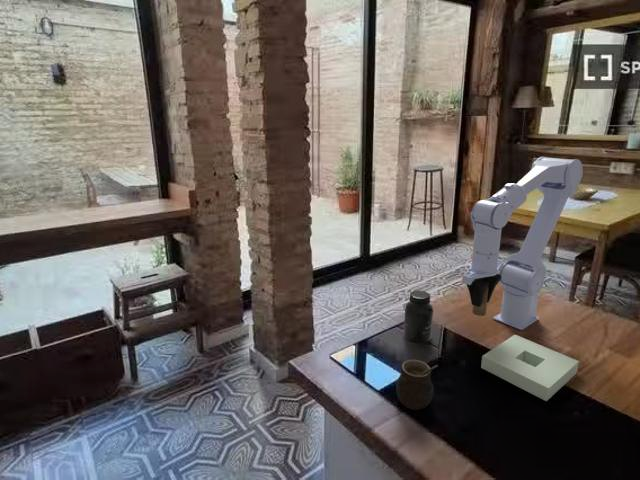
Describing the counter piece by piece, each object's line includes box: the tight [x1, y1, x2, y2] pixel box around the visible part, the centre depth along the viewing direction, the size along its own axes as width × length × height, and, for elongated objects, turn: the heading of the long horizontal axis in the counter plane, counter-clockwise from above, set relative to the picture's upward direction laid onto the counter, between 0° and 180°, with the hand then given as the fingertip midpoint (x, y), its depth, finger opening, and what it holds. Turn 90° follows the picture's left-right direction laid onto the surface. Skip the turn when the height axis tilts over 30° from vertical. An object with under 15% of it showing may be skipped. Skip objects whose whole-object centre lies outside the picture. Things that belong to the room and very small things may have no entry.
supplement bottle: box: [403, 290, 434, 345], centre depth 99 cm, size 7×7×12 cm
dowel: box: [472, 287, 489, 317], centre depth 98 cm, size 3×3×7 cm
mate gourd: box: [395, 359, 439, 411], centre depth 77 cm, size 7×8×10 cm
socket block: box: [480, 334, 580, 402], centre depth 87 cm, size 14×14×3 cm
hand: (480, 303), depth 98 cm, fingers closed on dowel, 3 cm apart
